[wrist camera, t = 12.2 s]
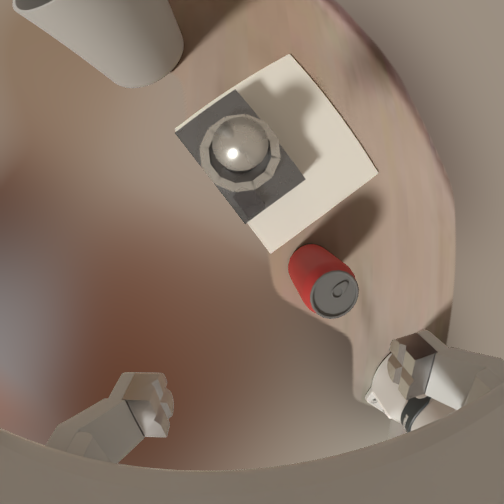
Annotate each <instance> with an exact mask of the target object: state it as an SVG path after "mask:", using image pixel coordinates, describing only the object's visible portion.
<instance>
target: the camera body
mask: <svg viewBox="0 0 504 504" xmlns="http://www.w3.org/2000/svg"><path fill="white" fill-rule="evenodd" d="M235 117H246V118H250V119H252V120H254V121H256V122H258V123H259V124H260V125H261V126H262V127H263V128H264V130H265V132H266V134H267V137H268V151H267V153H266V156H265V157H264V159H263V160H262V161H261V162H260V163H259V164H258V165H257V166H256V167H255V168H254V169H253V170H251V171H249V172H246V173H234V172H231V171H229V170H228V169H226V168H225V167H224V166H223V165H222V164H221V163H220V162H219V161H218V160H217V158H216V157H215V155H214V152H213V148H212V140H213V136H214V133H215V131H216V130H217V128H218V127H219V126H220V125H221V124H222V123H223V122H225V121H227V120H229V119H231V118H235ZM264 122H265V121H262V120H261V119H260V118H259V117H258V116H257V114H256V113H255V112H254V111H253V109H252V108H251V107H250V106H249V105H248V103H247V102H246V101H245V100H244V99H243V97H242V96H241V95H240V94H239V93H238V92H237V90H236V89H235V90H233V91H232V92H230V93H229V94H227V95H226V96H224V97H223V98H221V99H220V100H218V101H217V102H216V103H214V104H213V105H211V106H210V107H208V108H207V109H206V110H204V111H203V112H202V113H200V114H199V115H197V116H196V117H195V118H193V119H192V120H191V121H189V122H188V123H187V124H185V125H184V126H183V127H182V128H180V129H179V130H178V131H176V132H175V134H176V135H177V136H178V138H179V139H180V140H181V142H182V143H183V144H184V145H185V147H186V148H187V149H188V151H189V152H190V153H191V154H192V156H193V157H194V158H195V160H196V161H197V162H198V163H199V165H200V166H201V167H202V169H203V170H204V171H205V173H206V174H207V175H208V177H209V178H210V179H211V180H212V182H213V183H214V184H215V185H216V187H217V188H218V189H219V190H220V192H221V193H222V194H223V196H224V197H225V198H226V200H227V201H228V202H229V204H230V205H231V206H232V207H233V209H234V210H235V211H236V213H237V214H238V215H239V217H240V218H241V219H242V220H243V222H244V223H245V224H246V223H247V222H249V221H250V220H251V219H253V218H254V217H255V216H257V215H258V214H259V213H261V212H262V211H263V210H265V209H266V208H267V207H269V206H270V205H272V204H273V203H274V202H276V201H277V200H278V199H280V198H281V197H282V196H284V195H285V194H287V193H288V192H289V191H291V190H292V189H293V188H295V187H296V186H298V185H299V184H300V183H302V182H303V181H304V180H306V179H305V177H304V176H303V175H302V173H301V172H300V170H299V169H298V168H297V166H296V165H295V164H294V162H293V161H292V160H291V158H290V157H289V155H288V154H287V153H286V151H285V150H284V149H283V147H282V146H281V145H280V144H279V140H278V139H277V138H278V137H277V136H276V135H275V133H274V132H273V131H272V129H271V128H270V127H269V126H268V124H267V123H264Z"/></svg>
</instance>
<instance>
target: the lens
mask: <svg viewBox="0 0 504 504" xmlns="http://www.w3.org/2000/svg"><path fill="white" fill-rule="evenodd" d="M212 148H213V152H214V155H215V157H216V158H217V160H218V161H219V162H220V163H221V164H222V165H223V166H224V167H225V168H226V169H228V170H229V171H231V172H234V173H246V172H249V171H251V170H253V169H254V168H255V167H256V166H257V165H258V164H259V163H260V162H261V161H262V160H263V159H264V157H265V156H266V153H267V151H268V137H267V134H266V132H265V130H264V128H263V127H262V126H261V125H260V124H259V123H258V122H256V121H254V120H252V119H250V118H246V117H235V118H231V119H229V120H227V121H225V122H223V123H222V124H221V125H220V126H219V127H218V128H217V130H216V131H215V133H214V136H213V140H212Z"/></svg>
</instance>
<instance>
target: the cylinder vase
mask: <svg viewBox="0 0 504 504" xmlns="http://www.w3.org/2000/svg"><path fill="white" fill-rule="evenodd" d="M13 8H14V10H15V11H16V12H17V13H19V14H20V15H22V16H23V17H25V18H26V19H28V20H29V21H31V22H32V23H34V24H35V25H37V26H38V27H40V28H41V29H43V30H44V31H46V32H47V33H48V34H50V35H51V36H53V37H54V38H55V39H57V40H58V41H60V42H61V43H62V44H64V45H65V46H67V47H68V48H69V49H71V50H72V51H74V52H75V53H76V54H78V55H79V56H80V57H82V58H83V59H84V60H86V61H87V62H88V63H90V64H91V65H92V66H94V67H95V68H96V69H98V70H99V71H100V72H102V73H103V74H104V75H106V76H107V77H108V78H110V79H111V80H112V81H113V82H115V83H116V84H118V85H120V86H123V87H127V88H138V87H144V86H148V85H150V84H153V83H155V82H157V81H159V80H160V79H162V78H163V77H165V76H166V75H167V74H168V73H169V72H171V71H172V69H173V68H174V67H175V66H176V64H177V63H178V61H179V60H180V58H181V55H182V52H183V47H184V42H183V37H182V34H181V32H180V29H179V27H178V24H177V22H176V19H175V17H174V14H173V12H172V9H171V7H170V4H169V2H168V0H13Z"/></svg>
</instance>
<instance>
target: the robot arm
mask: <svg viewBox="0 0 504 504" xmlns="http://www.w3.org/2000/svg"><path fill="white" fill-rule="evenodd" d="M389 350H390V351H391V354H389V355H388V356H387V357H386V358H385V360H384V361H383V362H382V363H381V364H380V366H379V367H378V369H377V371H376V373H375V375H374V378H373V382H372V386H371V388H370V389H369V391H368V392H367V394H366V396H365V399H366V401H367V402H368V403H370V404H371V405H373V406H374V407H376V408H377V409H379V410H380V411H382V412H384V413H385V414H386V415H387V416H388V418H392V419H393V420H395V421H397V422H399V423H401V424H402V425H403V428H404V429H405V431H406V432H407V433H405V434H403V435H400V436H397V437H394V438H392V439H389V440H386V441H383V442H380V443H377V444H374V445H371V446H368V447H364V448H361V449H358V450H354V451H350V452H347V453H343V454H339V455H335V456H330V457H326V458H322V459H317V460H312V461H307V462H301V463H295V464H289V465H282V466H275V467H266V468H257V469H246V470H245V469H244V470H225V471H186V470H184V471H183V470H167V469H155V468H145V467H137V466H129V465H123V464H117V463H118V462H119V461H120V460H121V459H122V458H124V457H125V455H127V454H128V453H129V452H130V451H131V450H132V449H133V448H134V447H135V446H136V445H137V444H138V443H139V442H140V441H141V440H143V439H144V437H167V433H168V430H169V426H170V423H169V421H168V419H169V418H170V417H171V416H172V414H173V410H174V409H173V407H174V402H173V397H172V394H171V392H170V391H169V390H168V389H167V388H166V384H167V381H166V378H165V376H164V374H162V373H135V372H125V373H123V374H122V375H121V377H120V378H119V380H118V382H117V384H116V385H115V387H114V389H113V391H112V393H111V394H110V396H109V398H108V399H103V400H101V401H100V402H98V403H96V404H95V405H93V406H91V407H89V408H88V409H86V410H84V411H82V412H81V413H79V414H77V415H76V416H74V417H72V418H70V419H68V420H67V421H65V422H63V423H61V424H59V425H58V426H57V427H56V429H55V431H54V432H53V434H52V435H51V437H50V439H49V440H48V442H47V443H46V445H45V446H44V445H41V444H39V443H36V442H33V441H30V440H28V439H25V438H22V437H20V436H17V435H15V434H12V433H10V432H8V431H6V430H3V429H1V428H0V504H504V360H503V359H501V358H498V357H493V356H489V355H484V354H480V353H475V352H471V351H467V350H462V349H458V348H454V347H451V348H448V347H447V346H446V345H445V344H444V343H443V342H441V341H440V340H439V339H438V338H437V337H436V336H434V335H433V334H432V333H431V332H430V331H428V330H422V331H419V332H416V333H414V334H411V335H408V336H404V337H401V338H397V339H394V340H392V341H391V343H390V349H389Z"/></svg>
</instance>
